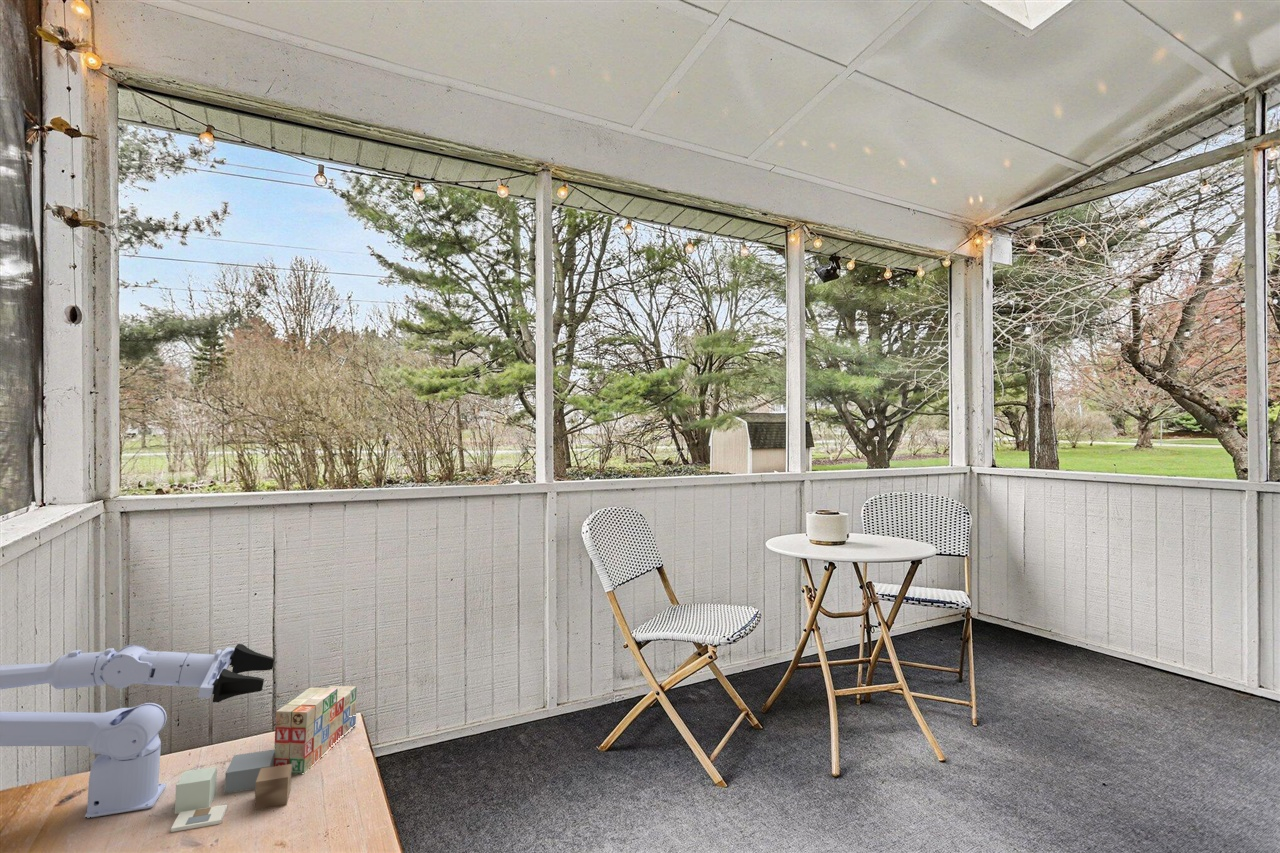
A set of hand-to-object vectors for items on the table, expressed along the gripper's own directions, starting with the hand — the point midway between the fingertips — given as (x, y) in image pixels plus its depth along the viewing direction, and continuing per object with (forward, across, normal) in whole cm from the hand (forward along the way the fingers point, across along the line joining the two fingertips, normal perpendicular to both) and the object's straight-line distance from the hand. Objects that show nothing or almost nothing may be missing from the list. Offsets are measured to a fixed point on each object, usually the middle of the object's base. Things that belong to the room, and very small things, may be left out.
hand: (268, 674), depth 119 cm
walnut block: (+6, -10, +18) cm, 22 cm away
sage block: (-6, -8, +21) cm, 23 cm away
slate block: (+1, -2, +21) cm, 21 cm away
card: (-4, -14, +19) cm, 24 cm away
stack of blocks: (+11, +9, +21) cm, 25 cm away
